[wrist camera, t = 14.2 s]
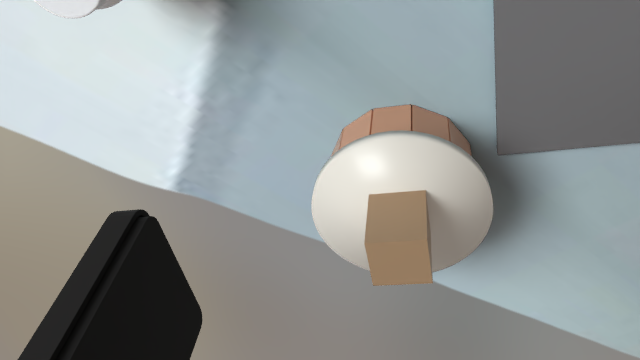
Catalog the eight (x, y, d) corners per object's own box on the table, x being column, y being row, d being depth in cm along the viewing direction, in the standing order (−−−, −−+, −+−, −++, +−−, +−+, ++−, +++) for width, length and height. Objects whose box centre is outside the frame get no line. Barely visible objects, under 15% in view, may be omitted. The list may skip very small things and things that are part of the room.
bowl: (467, 98, 42) (473, 135, 38) (473, 212, 48) (479, 254, 44) (320, 114, 44) (312, 151, 40) (345, 220, 51) (340, 261, 47)
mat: (768, -92, 32) (773, -90, 32) (715, 131, 41) (717, 135, 41) (492, -46, 35) (493, -44, 35) (497, 151, 44) (497, 155, 44)
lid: (489, 120, 37) (500, 176, 32) (493, 262, 45) (503, 324, 40) (296, 140, 40) (280, 194, 35) (331, 270, 47) (322, 329, 43)
